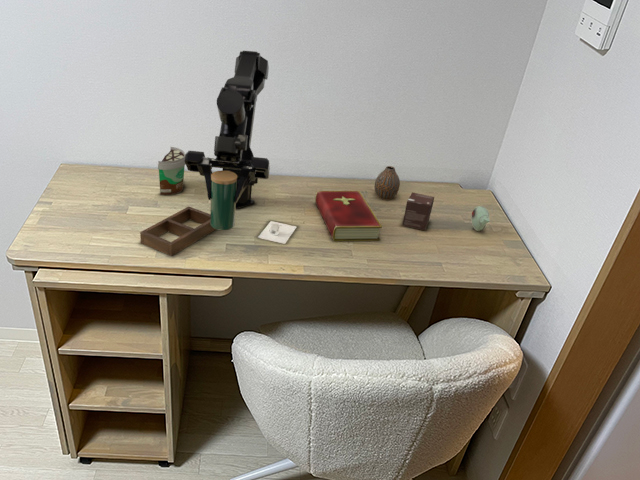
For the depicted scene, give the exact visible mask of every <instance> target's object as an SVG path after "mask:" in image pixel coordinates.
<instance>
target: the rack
mask: <svg viewBox="0 0 640 480" xmlns="http://www.w3.org/2000/svg"><path fill="white" fill-rule="evenodd" d="M210 216H211V213H208V212H205V211H202V210H200V209H197V208H194V207H192V206H186V207H185V208H183V209H181V210H179V211H178V212H176V213H175V212H174V214H172V215H170V216H168V217H166V218H164V219H162V220H161V221H158V222H157V223H155V224H153V225H150V226H149V227H147V228H145V229H143V230H141V231H140V232H139V234H140V236H139V237H140V244H141V245H144V246H147V247H149V248H151V249H154V250H156V251H158V252H161V253H163V254H166V255H168V256H171V257H173V256H174V255H176V254H178V253H179V252H181V251H183V250H184V249H186V248H188V247H190V246H191V245H193V244H194V243H196V242H197V241H199V240H201V239H203V238H204V237H206V236H207V235H210V234H211V233H213V232H214V231H216V230H217V229H215V228H213V227H212V226H211V225H210ZM189 220H190V221H192V222H196V223H198V224H200V225H198V226H196V227H195V228H194V227H191V226H188V225H186V224H183V223H186V222H187V221H189ZM167 232H168V233H170V234H173V235H175V236H178V237H177V238H175V239H173V240H172V241H170V240H167V239H165V238H162V237H160V236H162V235H164V234H165V233H167Z"/></svg>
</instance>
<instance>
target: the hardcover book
mask: <svg viewBox="0 0 640 480" xmlns="http://www.w3.org/2000/svg"><path fill="white" fill-rule="evenodd" d="M314 199H315V201H314V202H315V205H316V206H317V209H318V211H319V213H320V215H321V217H322V219H323V222H324V224H325V225H326V227H327V229H328V232H329V234H330V236H331V239H332V240H333V242H379V241H380V237H379V233H380V229H382V228H383V225H382V224H381V222H380V220H379V219H378V217H377V216H376V215H375V213H374V212H373V210H372V208H371V207H370V205H369V203H368V202H367V200H366V198H365V197H364V196H363V194H362V192H361V191H360V190H317V191H316V193H315V198H314Z"/></svg>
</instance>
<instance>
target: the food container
mask: <svg viewBox="0 0 640 480" xmlns="http://www.w3.org/2000/svg"><path fill="white" fill-rule="evenodd" d="M185 155H186V153H185V151H184V150H183V149H180V148H178V147H174V146H170V150H169V152H168V153H166V154H165V155H164V157H163V159H162V160H158V163H157V170H158V180H159V181H158V182H159V194H160V195H161V196H171V195H177V194H179V193H181V192H183V190H184V179H185V167H186V164H185Z"/></svg>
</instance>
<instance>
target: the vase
mask: <svg viewBox="0 0 640 480" xmlns="http://www.w3.org/2000/svg"><path fill="white" fill-rule="evenodd" d="M400 186H401V181H400V177H399V175H398V173H397V171H396V168H395V167H394V166H392V165H387V166H386V167H385V168H384V169H383V170H382V171H381V172H380V173H379V174H378V175H377V177H376V178H375V181H374V187H373V188H374V193H375V195H376V197H378V199H381V200H387V201H388V200H391V199H393V198H394V197H396V196H397V194H398V192H399V190H400V188H401V187H400Z"/></svg>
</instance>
